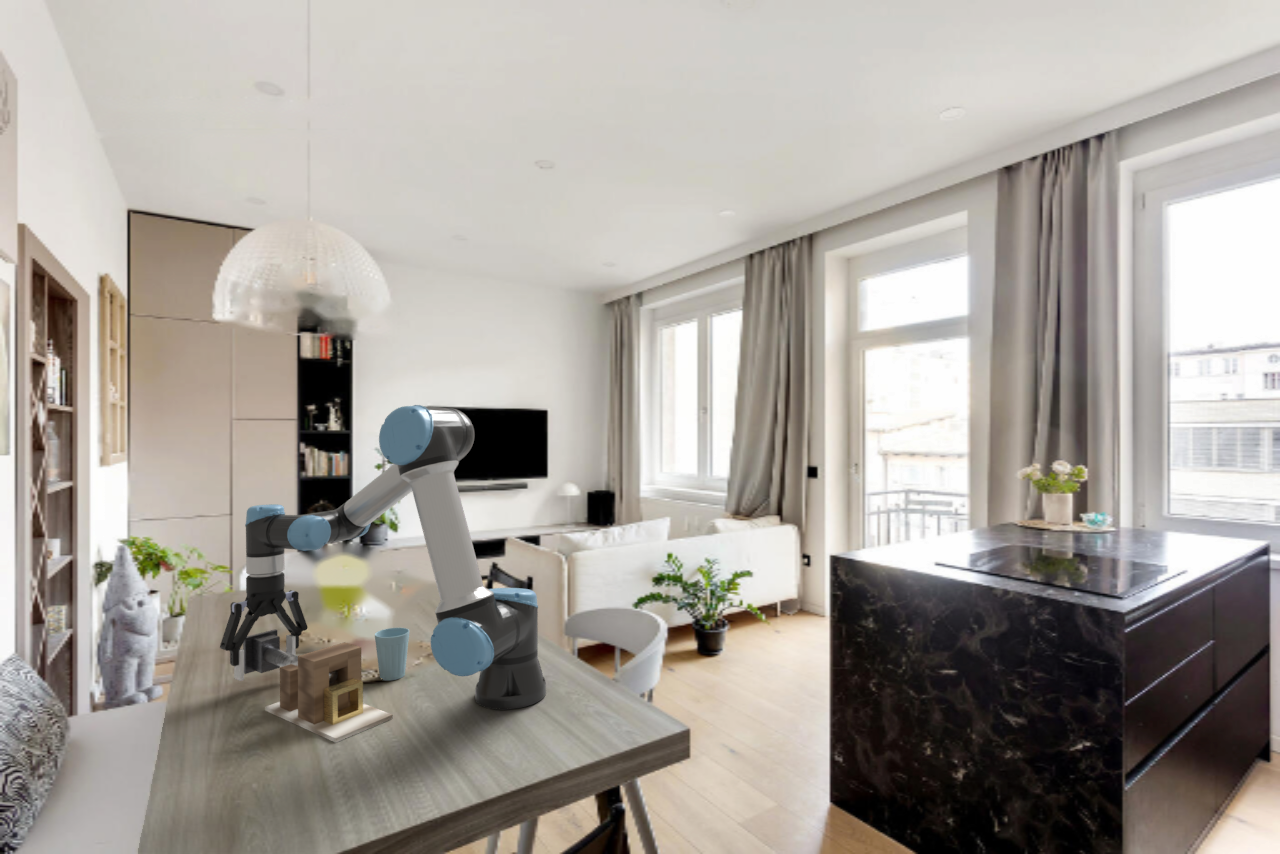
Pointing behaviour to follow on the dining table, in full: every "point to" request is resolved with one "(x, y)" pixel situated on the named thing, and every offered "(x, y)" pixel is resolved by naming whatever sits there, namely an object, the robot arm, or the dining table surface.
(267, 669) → the shaft
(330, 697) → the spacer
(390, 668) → the cup
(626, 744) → the dining table surface
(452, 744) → the dining table surface
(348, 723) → the wooden assembly fixture
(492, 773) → the dining table surface
